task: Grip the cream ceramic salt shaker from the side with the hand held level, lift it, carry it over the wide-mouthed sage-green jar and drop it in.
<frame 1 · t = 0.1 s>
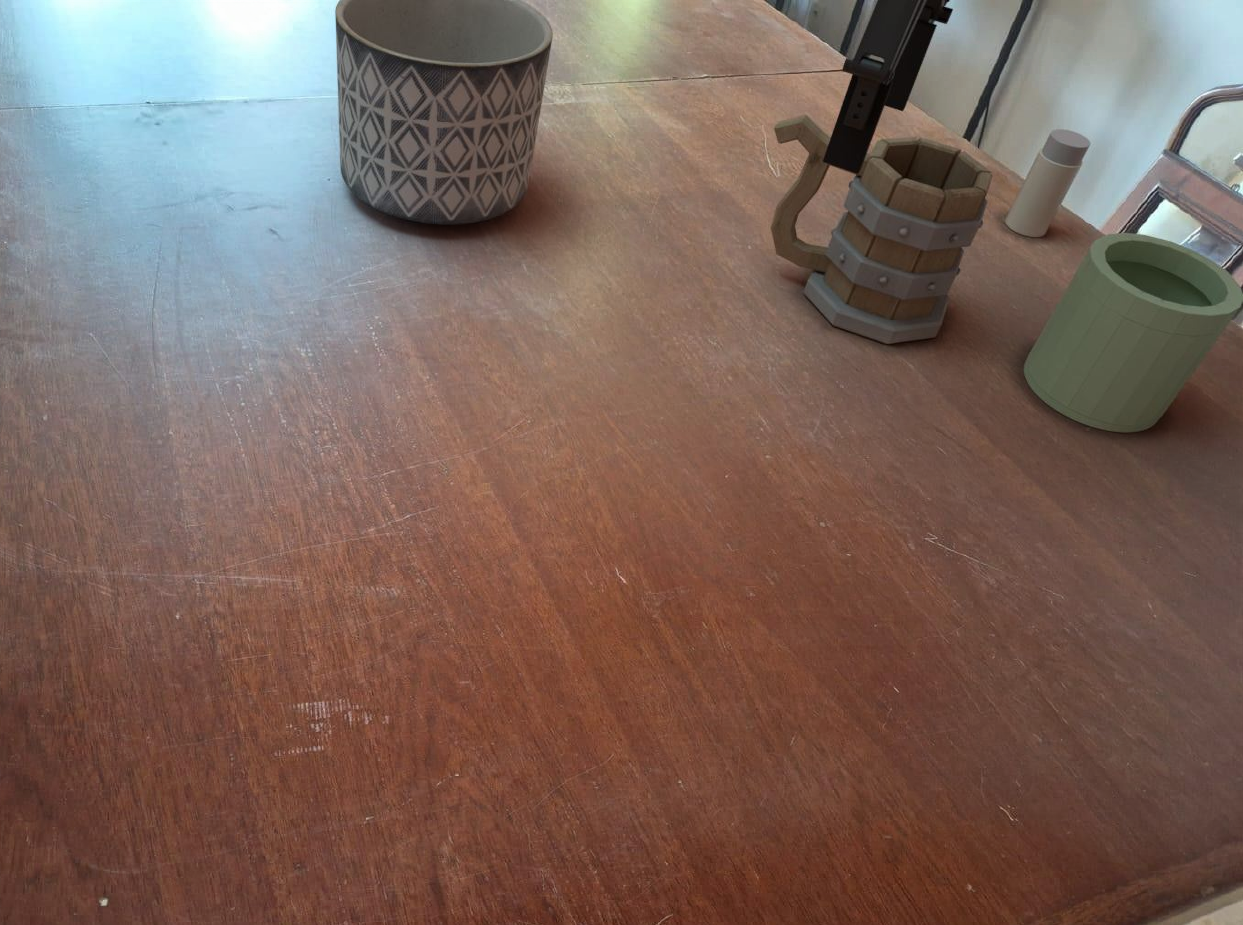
hand: (865, 134, 82), 19 cm above the table, tool pointing down, fingers open, 13 cm apart
planter: (433, 192, 106), on the table
tankard: (834, 292, 101), on the table
salt shaker: (1025, 226, 115), on the table
jar: (1090, 388, 95), on the table
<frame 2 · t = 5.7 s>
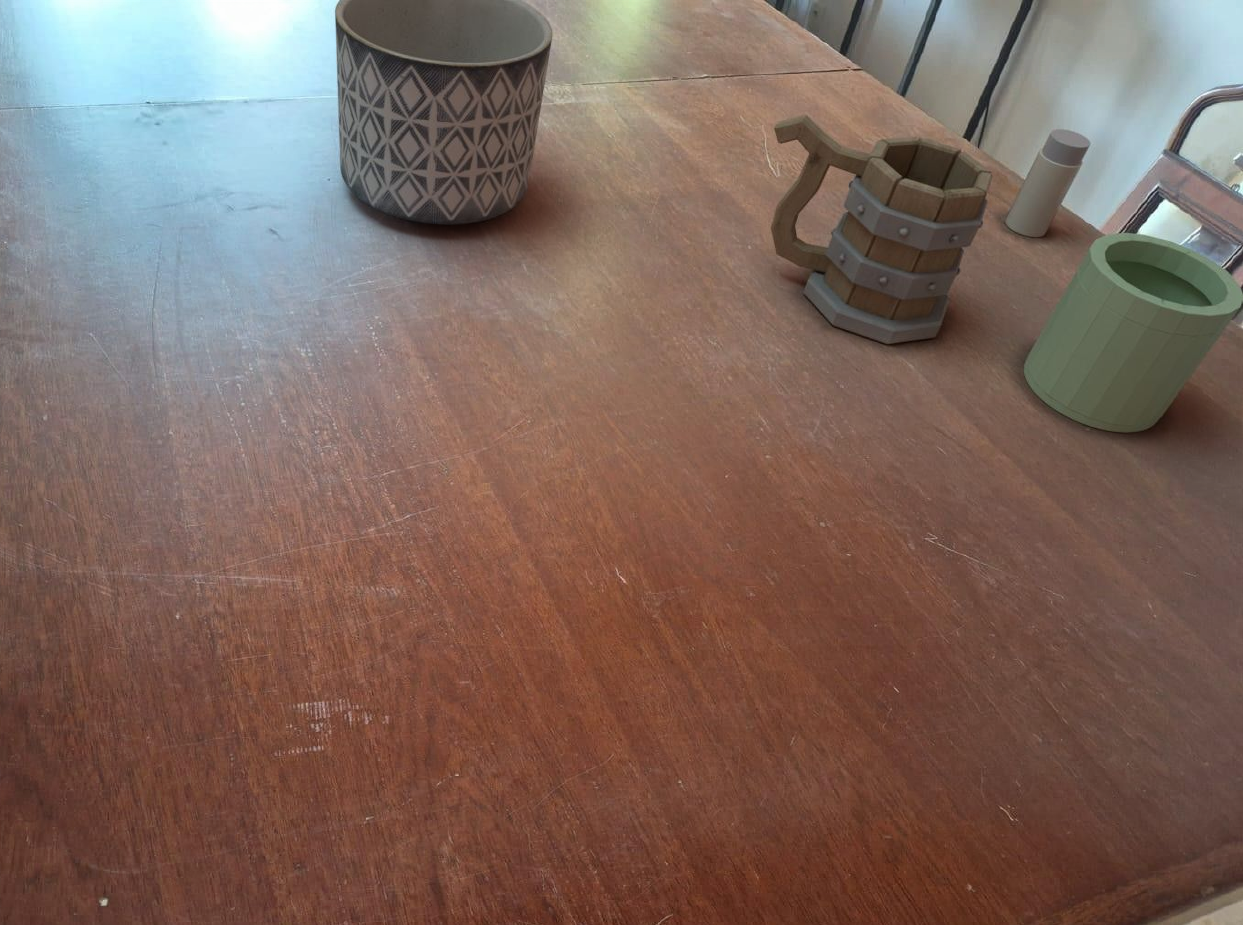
nothing on the table moved.
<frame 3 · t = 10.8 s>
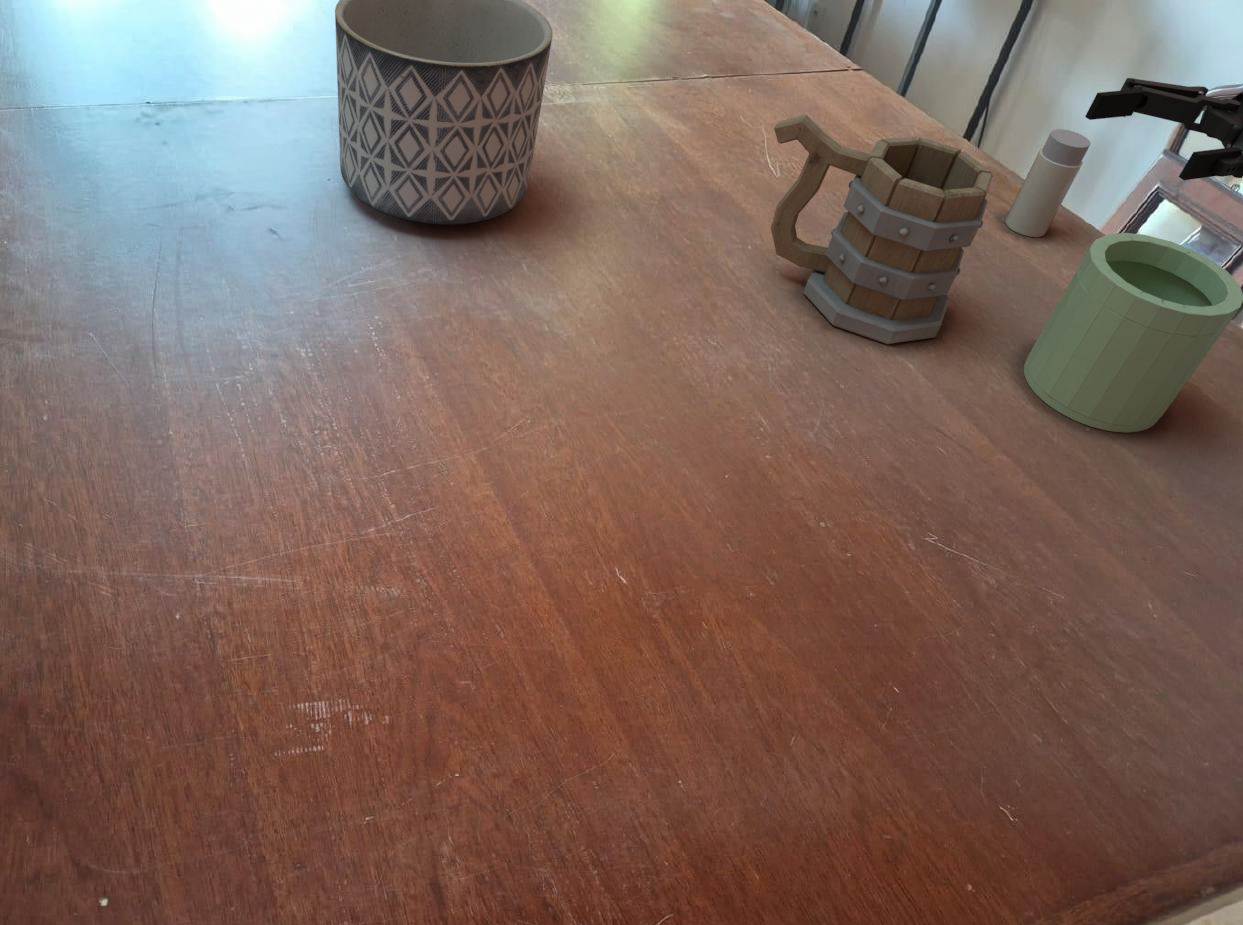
hand: (1139, 135, 112), 9 cm above the table, tool horizontal, fingers open, 13 cm apart
nothing on the table moved.
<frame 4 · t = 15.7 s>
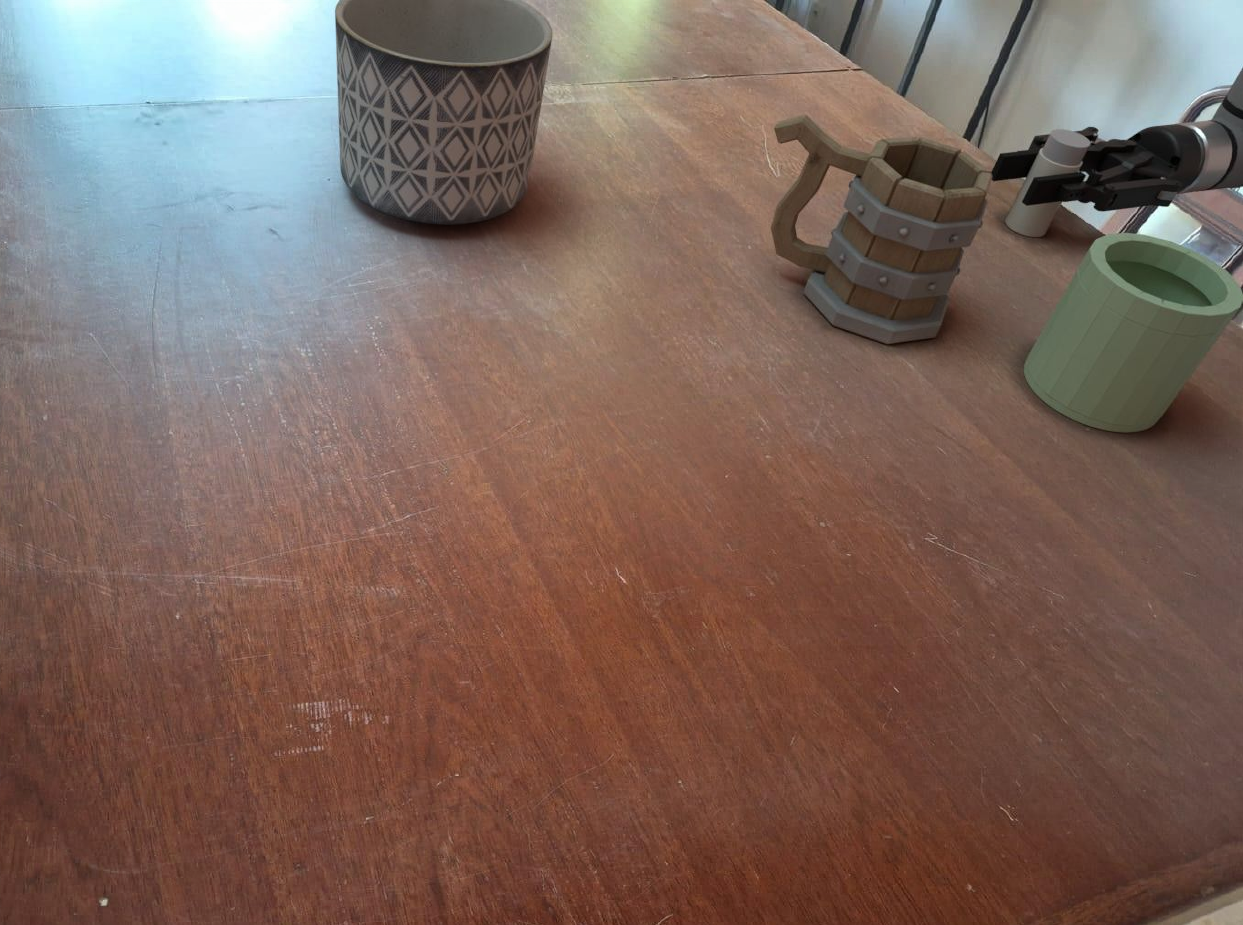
hand: (1013, 179, 109), 6 cm above the table, tool horizontal, fingers closed on salt shaker, 4 cm apart
salt shaker: (1025, 226, 115), on the table, touching gripper
everything else where it was.
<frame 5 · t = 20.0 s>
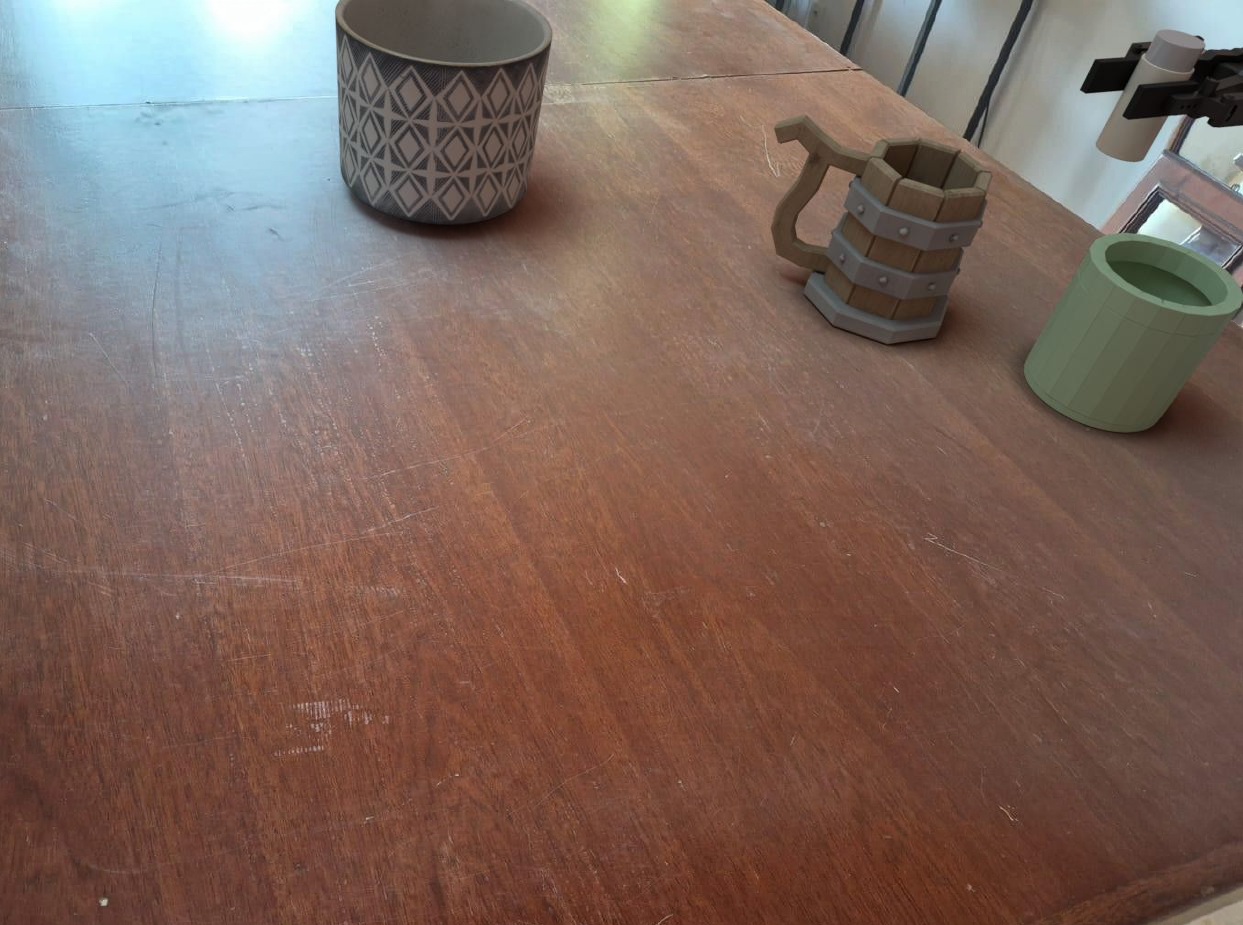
hand: (1112, 89, 91), 20 cm above the table, tool horizontal, fingers closed on salt shaker, 4 cm apart
salt shaker: (1119, 150, 97), point 14 cm above the table, touching gripper
everything else where it was.
when the fingers open (16 cm above the table, at t = 24.6 s): salt shaker drops 9 cm, resting on jar.
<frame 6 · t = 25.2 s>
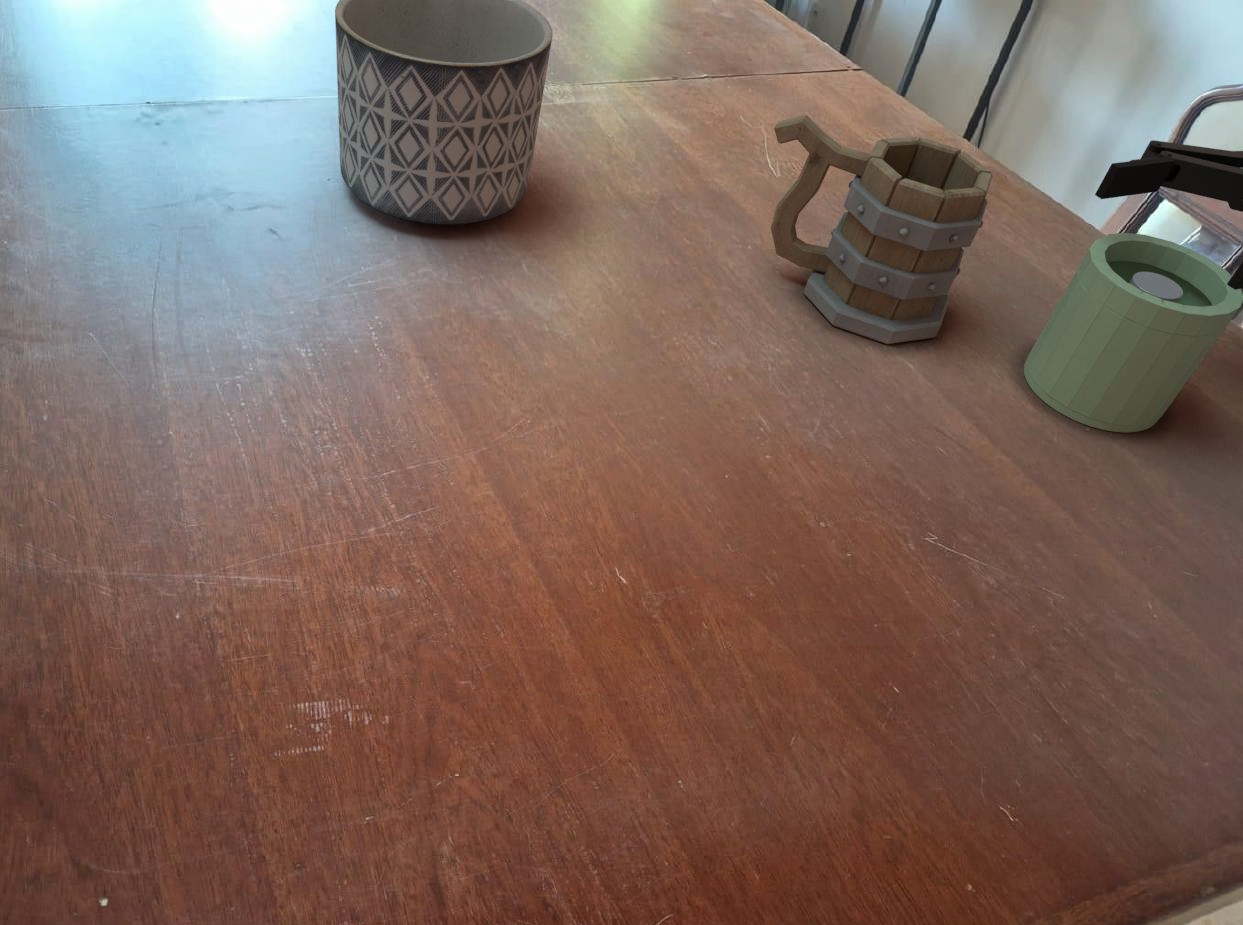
hand: (1170, 223, 81), 17 cm above the table, tool horizontal, fingers open, 13 cm apart
salt shaker: (1095, 381, 94), point 1 cm above the table, touching jar
everything else where it was.
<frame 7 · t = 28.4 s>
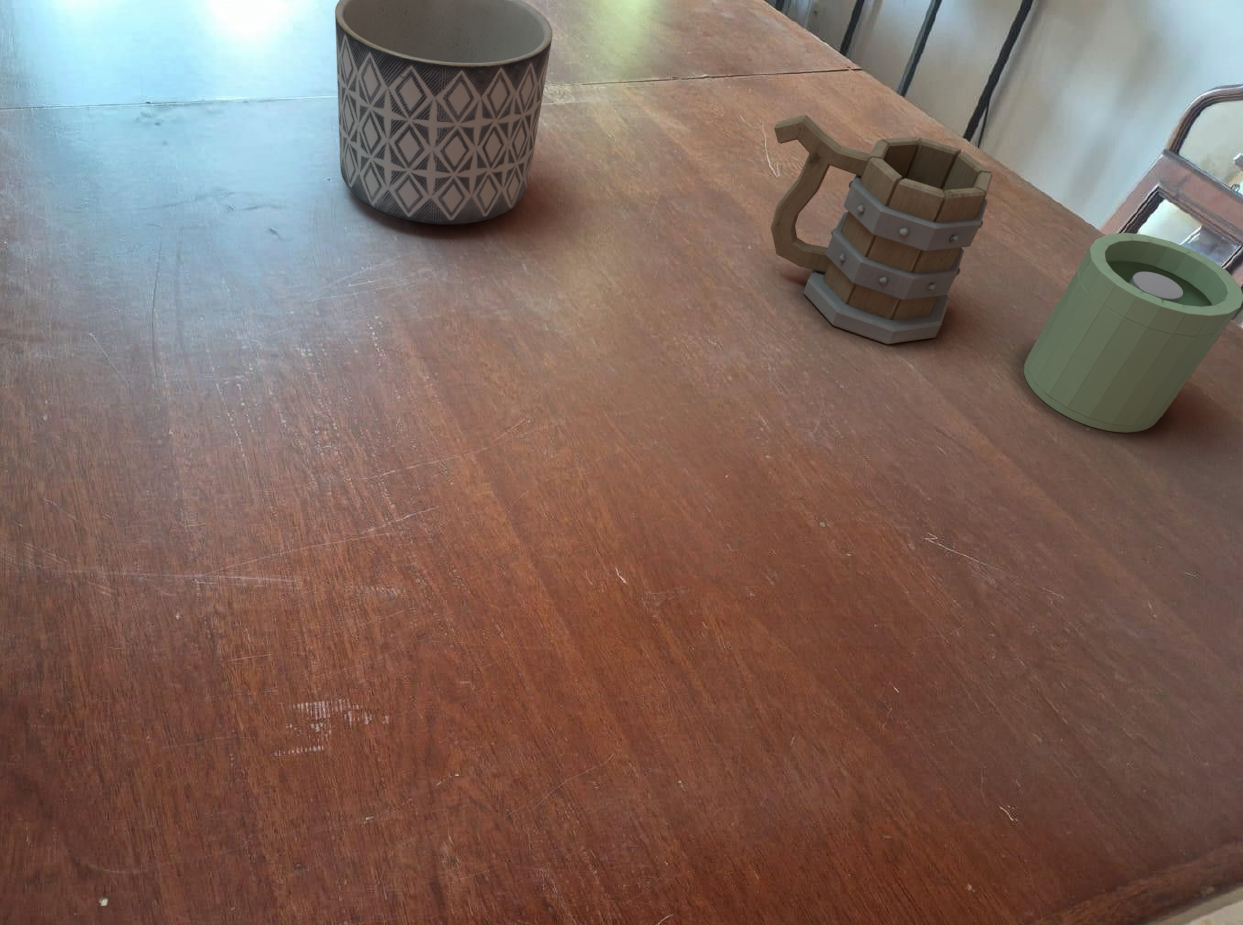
nothing on the table moved.
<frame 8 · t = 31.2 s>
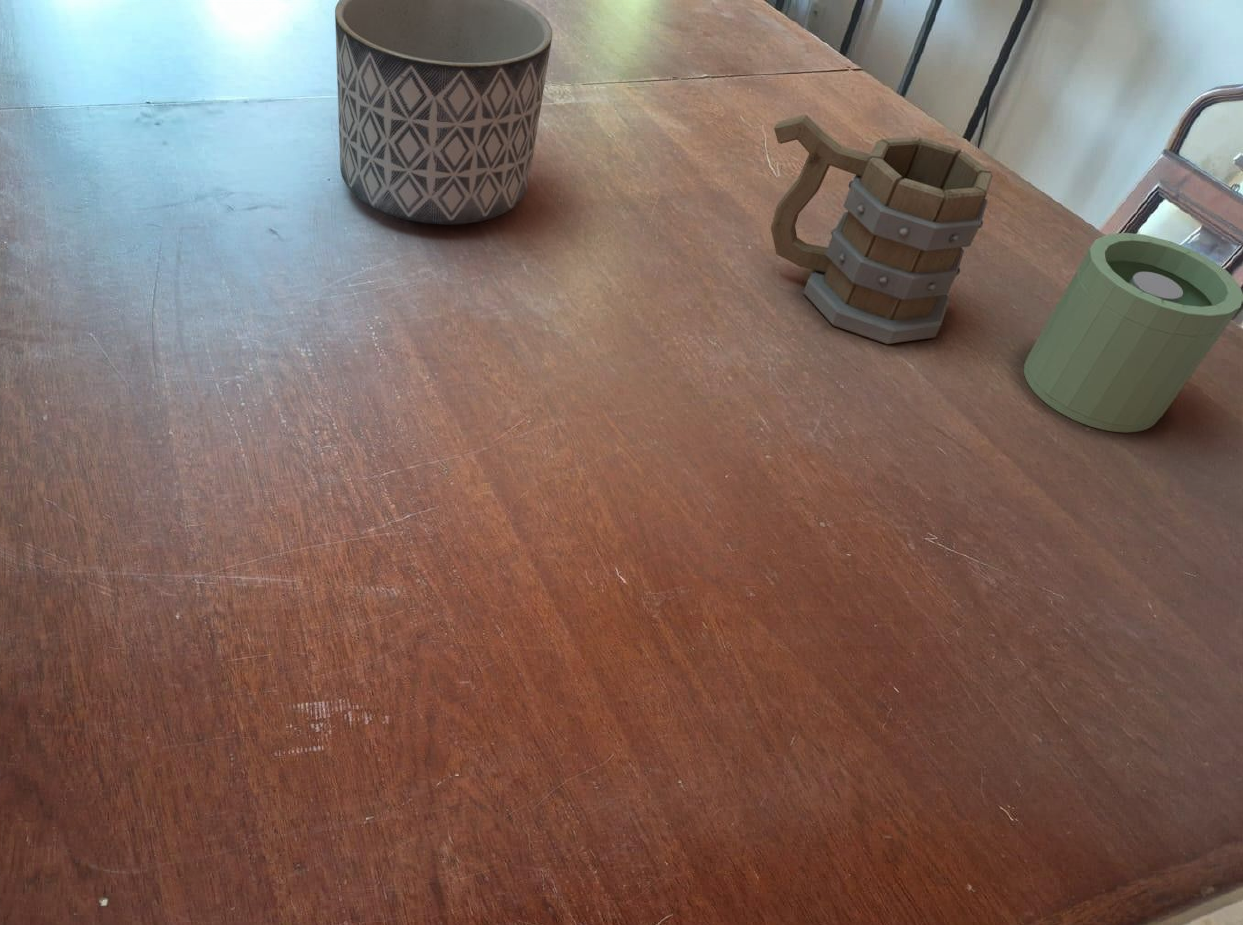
nothing on the table moved.
at the end: salt shaker inside the target area in the jar (0.0 cm from its centre), point 0.8 cm above the jar's base; the gripper is holding nothing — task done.
